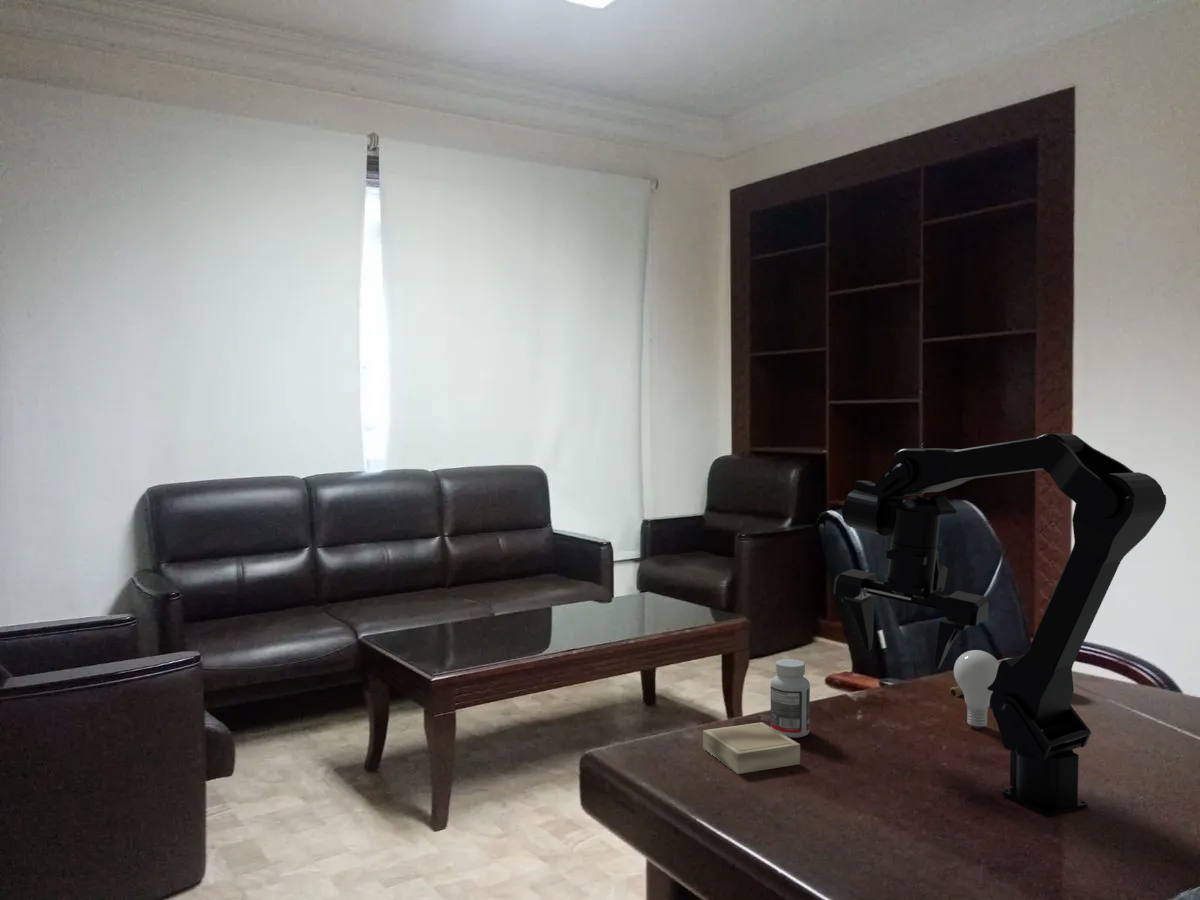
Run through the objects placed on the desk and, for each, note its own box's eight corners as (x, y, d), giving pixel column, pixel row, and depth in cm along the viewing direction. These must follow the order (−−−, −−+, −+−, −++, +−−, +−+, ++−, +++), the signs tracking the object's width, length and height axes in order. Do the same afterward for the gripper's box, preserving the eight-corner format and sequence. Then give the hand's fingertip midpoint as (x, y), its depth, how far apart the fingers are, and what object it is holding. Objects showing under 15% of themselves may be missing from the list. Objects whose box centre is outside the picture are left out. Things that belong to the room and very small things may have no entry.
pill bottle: (786, 723, 126) (787, 655, 126) (817, 733, 122) (818, 663, 122) (762, 731, 123) (762, 661, 123) (793, 741, 119) (793, 670, 118)
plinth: (799, 764, 111) (800, 744, 111) (737, 774, 107) (738, 753, 107) (761, 740, 119) (761, 721, 119) (702, 749, 116) (703, 729, 116)
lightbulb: (1009, 735, 121) (1010, 656, 121) (963, 735, 121) (964, 656, 121) (990, 720, 128) (991, 645, 127) (946, 719, 128) (947, 645, 128)
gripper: (1006, 548, 115) (993, 662, 117) (868, 524, 127) (858, 629, 128) (981, 560, 106) (968, 684, 108) (836, 534, 118) (826, 646, 120)
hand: (902, 658), depth 116 cm, fingers open, 9 cm apart
